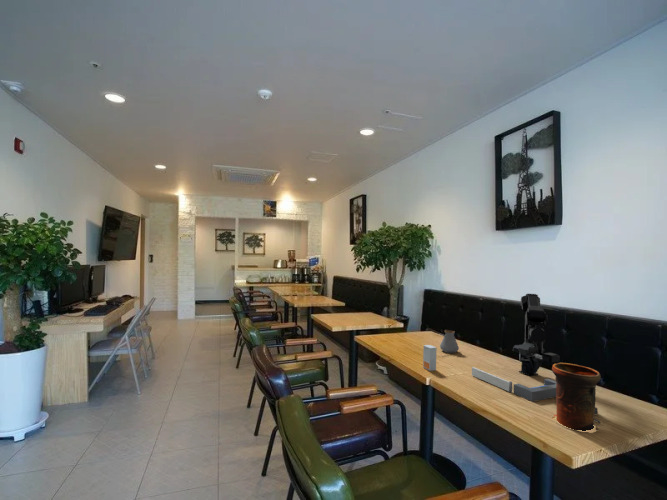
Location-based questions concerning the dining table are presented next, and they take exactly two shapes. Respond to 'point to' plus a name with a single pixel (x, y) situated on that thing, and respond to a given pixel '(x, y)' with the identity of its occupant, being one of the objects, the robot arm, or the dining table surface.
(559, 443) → the dining table surface
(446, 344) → the coffee pot
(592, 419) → the vessel
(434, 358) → the skincare box
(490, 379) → the light grey flat bar
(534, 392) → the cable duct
